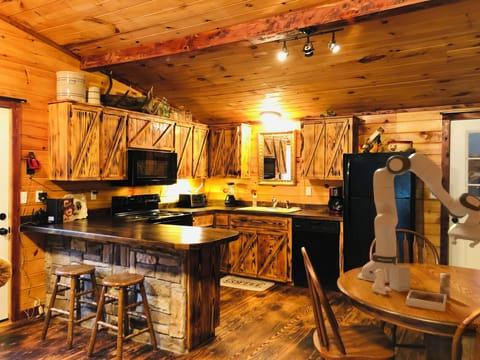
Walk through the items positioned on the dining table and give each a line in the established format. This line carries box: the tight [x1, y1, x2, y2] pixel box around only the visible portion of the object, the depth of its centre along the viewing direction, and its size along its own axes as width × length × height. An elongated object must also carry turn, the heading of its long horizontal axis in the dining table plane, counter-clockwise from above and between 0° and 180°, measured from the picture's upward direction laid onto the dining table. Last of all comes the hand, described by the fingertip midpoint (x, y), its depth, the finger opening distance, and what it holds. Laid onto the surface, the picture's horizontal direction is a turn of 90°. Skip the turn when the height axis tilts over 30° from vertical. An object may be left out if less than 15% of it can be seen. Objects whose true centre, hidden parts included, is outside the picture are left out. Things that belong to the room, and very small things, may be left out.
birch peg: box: [439, 272, 451, 300], centre depth 189 cm, size 4×4×12 cm
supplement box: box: [389, 264, 411, 293], centre depth 202 cm, size 7×7×13 cm
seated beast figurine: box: [371, 269, 392, 295], centre depth 198 cm, size 10×9×12 cm
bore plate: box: [411, 292, 443, 303], centre depth 180 cm, size 13×13×2 cm
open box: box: [405, 289, 447, 312], centre depth 180 cm, size 16×16×4 cm
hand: (462, 245), depth 195 cm, fingers open, 8 cm apart
